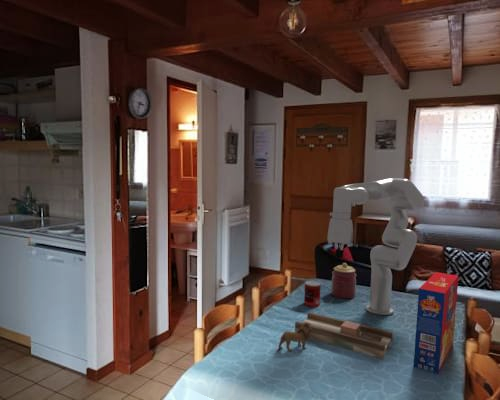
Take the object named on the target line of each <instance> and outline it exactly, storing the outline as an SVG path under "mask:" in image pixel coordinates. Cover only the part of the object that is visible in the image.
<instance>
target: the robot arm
mask: <svg viewBox="0 0 500 400" xmlns="http://www.w3.org/2000/svg"><path fill="white" fill-rule="evenodd" d="M385 198H388V204H389V205H388V206H389V208H390V219H389V220H388V223H387V225H386V227H385V230H384V231H383V234H382V235H381V240H382V243H383V244H384V245H379V244H378V245H375V246H373V247H372V248H371V250H370V256H369V258H370V263H371V265H370V266H371V271H370V272H371V275H370V288H369V303H368V304H367V305H365V309H366V311H367V312H369V313H371V314H375V315H380V316H390V315H392V314H393V313H394V308H393V307H392V306H391V301H392V299H391V298H392V286H393V273H392V270H396V271H402V270H404V269H406V268H407V265H408V264H409V261H410V259H411V257H412V255H413V252H414V251H415V248H416V246H417V243H418V235H417V233H416V232H415V231H414V230H413V229H412V230H411V229H409V228H407V227H408V225H409V221H410V220H409V216H408V215H407V212H406V211H405V210H408V211H415V212H416V211H420V210H421V209H423V208H424V205H425V198H424V195H423V193H422V192H421V191H420V190H419V189H418V188H417V186H416V185H415V184H414V183H413V182H412V181H411V180H410V179H407V178H395V177H394V178H393V177H391V178H390V177H389V178H384V179H380V180H375V181H368V182H367V181H366V182H359V183H358V182H356V183H351V184H346V185H345V184H344V185H342V186H340V187H339V186H338V187H335V188H334V189H333V199H332V200H333V201H332V203H333V204H332V206H333V207H332V212H329V216H331V218H330V220H329V224H328V230H327V244H328V245H329V244H330V245H332V246H333V248H334V249H335V257H336V258H335V259H337V260H338V259H339V260H341V259H343V258H344V254H345V253H344V252H345V249H346V248H349V247H350V248H351V247H353V246H354V245H353V240H354V225H353V220H352V219H351V217H352V216H351V215H352V205H359V206H360V205H364V204H365V203H367V202H368V201H376V200H378V201H379V200H381V199H385ZM391 269H392V270H391Z"/></svg>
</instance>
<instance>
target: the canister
mask: <svg viewBox="0 0 500 400" xmlns="http://www.w3.org/2000/svg"><path fill="white" fill-rule="evenodd" d="M331 274H332V277H331V289H330V292H331V295H332V296H333V297H335V298H337V299H338V298H339V299H347V300H348V299H354V298H355V297H356V293H357V292H356V289H357V288H356V287H357V285H356V284H357V279H356V277H357V276H358V275H357V273H356V269H355V268H354V267H353V266H351V265H350V266H349V265H348V264H347V263H346V262H342V264H339V265H336V266H335V267H333V271H331Z"/></svg>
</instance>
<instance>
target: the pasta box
mask: <svg viewBox="0 0 500 400" xmlns="http://www.w3.org/2000/svg"><path fill="white" fill-rule="evenodd" d="M458 284H459V275H457V274H456V275H455V274H450V273H443V272H440V271H435V272H434V273H433V274H432V275H431V276H430V277H429V278H428V279H427V280H426V281H425V282H424V283H423V284H422V285H421V286H419V288H418V296H417V297H418V299H417V312H416V313H417V314H416V325H415V326H416V327H415V339H414V341H415V342H414V355H413V356H414V357H413V368H416V369H419V370H422V369H423V370H422V371H425V370H426V372H428V371H429V373H432V372H433V374H435V373H436V374H435V375H438V374H440V373H441V371H442V369H443V367H442V366H444V365H443V364H445V363H444V362H446V361H447V359H446V358H448V356H449V354H450V353H451V351H452V348H453V346H454V336H455V325H456V323H455V322H456V313H457V300H458V289H459V288H458ZM445 360H446V361H445ZM441 368H442V369H441ZM440 370H441V371H440ZM439 372H440V373H439Z"/></svg>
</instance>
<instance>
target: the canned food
mask: <svg viewBox="0 0 500 400" xmlns="http://www.w3.org/2000/svg"><path fill="white" fill-rule="evenodd" d="M321 287H322V284H321V282H320V281H316V280H306V281H305V282H304V298H303V302H304V305H305V306H306V307H309V308H316V307H317V308H318V307H319V306H320V304H321Z"/></svg>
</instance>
